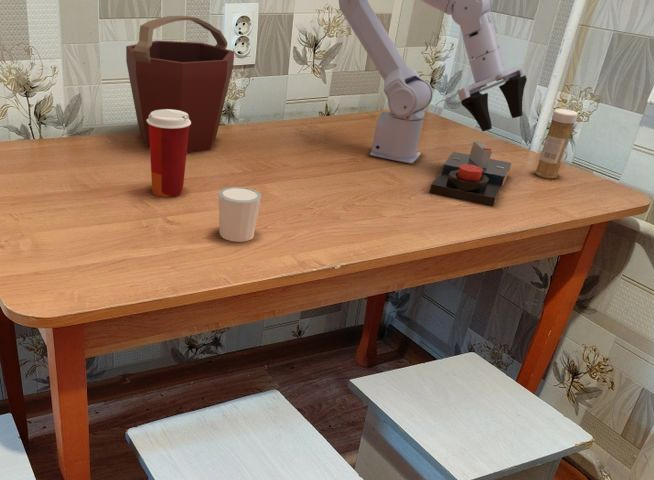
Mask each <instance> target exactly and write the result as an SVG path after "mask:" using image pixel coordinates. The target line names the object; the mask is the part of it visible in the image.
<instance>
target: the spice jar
mask: <svg viewBox="0 0 654 480" xmlns="http://www.w3.org/2000/svg"><path fill="white" fill-rule="evenodd" d="M578 116H579V114H578V112H577V111H575V110H571V109H567V108H566V109H565V108H557V109H554V111H553V113H552V116H551V120H550V121H551V122H550V125H549V128H548V131H547V134H546V137H545V140H544V143H543V146H542V150H541V153H540V156H539V160H538V163H537V166H536V170H535V171H534V174H535V175H536V176H538V177H540V178H544V179H550V180H551V179H556V178H558V176H559V174H558V173H559V170H560V167H561V165H562V162H563V160H564V157H565V153H566V151H567V147H568V143H569V141H570V138H571V134H572V132H573V128H574V125H575V123H576V122H577V119H578Z"/></svg>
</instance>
